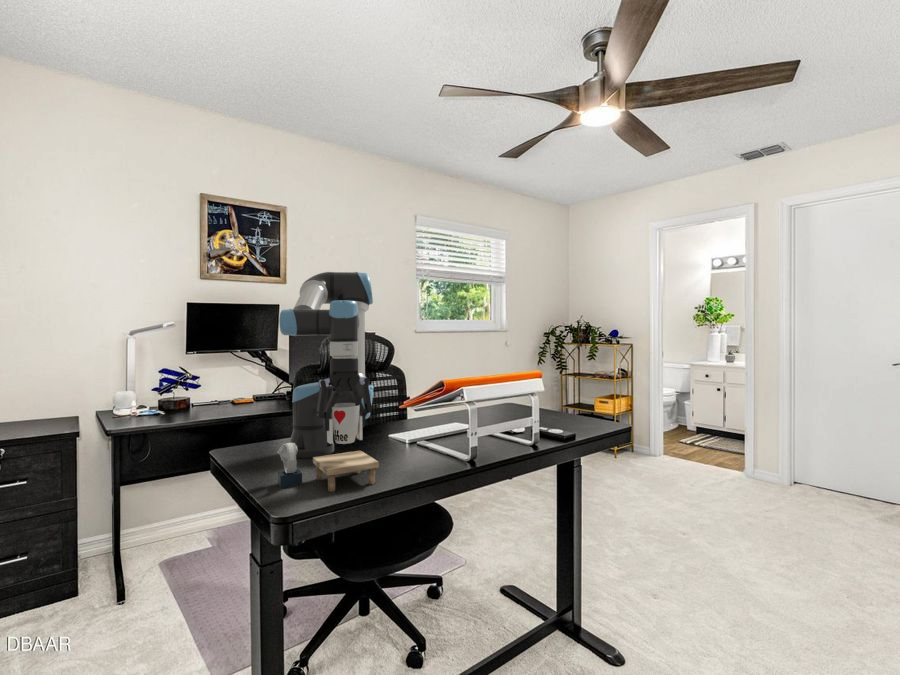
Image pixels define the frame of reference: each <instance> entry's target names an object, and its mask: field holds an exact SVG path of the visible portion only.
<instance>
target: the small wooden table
mask: <svg viewBox="0 0 900 675" xmlns="http://www.w3.org/2000/svg"><path fill="white" fill-rule="evenodd" d="M312 463H313V464H314V465H315V466H316V469H315V471H316V478H315V479H316V480H317V481H323V480H324V474H325V475H326V476H327V492H330V493H333V492H335V491H336V475H340V474H346V473H353V472H354V474H355V475H359V474H362V471H366V470H367V472H368V474H367V477H368V483H367V484H368V485H375V484H376V469H378V468H380V461H379V460H376V459H375V458H374V457H372V456H371V455H369V454H367V453H365V452H364V451H362V450H356V451H355V450H354V451H347V452H342V453H335V454H333V453H332V454H328V455H324V456H318V457H312Z"/></svg>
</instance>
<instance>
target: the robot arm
mask: <svg viewBox="0 0 900 675" xmlns="http://www.w3.org/2000/svg"><path fill="white" fill-rule="evenodd" d="M373 300H374V299H373V292H372V284H371V279H370V275H369V274H368V273H366V272H358V271H354V272H353V271H352V272H351V271H350V272H349V271H347V272H346V271H345V272H344V271H343V272H336V271H334V272H333V271H325V272H319V273H317V274H315V275H313V276H311V277H309V278H308V279H306V280H305V281H304V282H303V283H302V284H301V286H300V288H299V297H298V299H297V301H296V303H295V305H294V306H293V308H289V309H282V310H280V313H279V319H278V320H279V321H278V322H279V331H280V333H281V334H282V335H284V336H293V337H297V336H299V337H300V336H301V337H302V336H303V337H304V336H305V337H306V336H329V356H331V358H330V360H329V376H328V378H324V379H319V380H318V382H312V383H311V382H310V383H307V384H302V385H298V386H296V387H295V388H294V389H293V392H292V399H291V400H292V401H291V403H292V433H291V436H290V439H289V442H288V443H295V444H296V446H297V450H298V451H297V454H296V455H295V456H296V458H300V459H301V458H302V459H307V458H313V457H318V456H325V455H331V454H333V452H334V451H335V443H334V436H333V419H331V418H330V415H331V413H332V407H334V405H335V404H339V403H355V405H356V406H358V405H360V411H359V423H358V430H357V434H356V439H357V440H359V441H363V437H364V436H363V428H365V427H366V422H367V421H366V420H367V419H368V418H369V417H370V416H371V413H372V412H373V408H372V405H373V395H374V385H373V384H370V378H369V377H367V376H366V364H365V363H366V343H365V342H366V337H365V336H366V335H365V334H366V329H365V328H366V327H365V326H366V321H365V318H366V317H365V316H366V314H365V313H366V312H367V311H369V308H370V305H372V304H373V302H374V301H373ZM323 304H324V305H325V304H326V305H327V304H328V305H329V309H321V307H322V305H323ZM329 383H330V384H329ZM330 385H331V386H330Z"/></svg>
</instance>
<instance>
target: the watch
mask: <svg viewBox="0 0 900 675" xmlns="http://www.w3.org/2000/svg"><path fill="white" fill-rule="evenodd" d="M297 451H298V450H297V446H296V444H295V443H289V442H287V443H283V444H282V445H281V446H280V447H279V448H278V450H277V454H279V457H280V459H281V461H282V462H283V469H284V470H282V471H281V470H280V471H278V472H277V483H278V486H279V488H280V489H282V488H283V489H284V488H290V487H296V486H303V472H302V471H301V470H300V469H299V468H297V463H298V462H297V457H296V456H295V455H296V454H297Z"/></svg>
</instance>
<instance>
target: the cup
mask: <svg viewBox="0 0 900 675" xmlns="http://www.w3.org/2000/svg"><path fill="white" fill-rule="evenodd" d="M359 411H360V405H358V406H356V405H355V403H339V404H335V405H334V407H332V413H331V415H330V418H331V419H333V440H334V441H335V443H336V444H340V445H341V444H342V445H346V444H352V443H355V441H356V439H357V430H358V423H359Z"/></svg>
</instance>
